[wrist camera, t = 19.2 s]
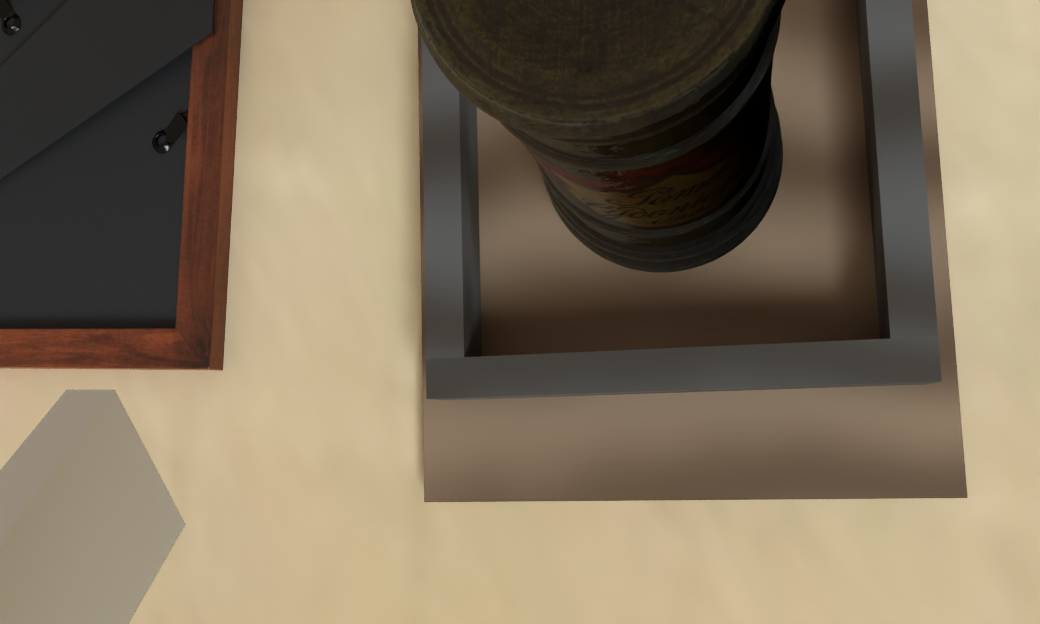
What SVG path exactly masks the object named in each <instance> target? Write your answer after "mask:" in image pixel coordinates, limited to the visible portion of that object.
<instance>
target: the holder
mask: <svg viewBox="0 0 1040 624" xmlns="http://www.w3.org/2000/svg"><path fill="white" fill-rule="evenodd" d="M418 57H419V132H420V207H421V282H422V357H423V433H424V502H496V501H623V500H750V499H876V498H967V487H966V475H965V463H964V451H963V438H962V426H961V414H960V402H959V389H958V377H957V365H956V353H955V340H954V328H953V316H952V304H951V291H950V279H949V267H948V255H947V242H946V230H945V218H944V206H943V193H942V181H941V169H940V157H939V144H938V132H937V120H936V107H935V95H934V83H933V71H932V58H931V46H930V34H929V22H928V9H927V0H786V1H785V3H784V6H783V8H782V10H781V22H780V30H779V35H778V39H777V43H776V47H775V51H774V54H773V67H772V78H771V87H772V91H773V96H774V101H775V106H776V109H777V112H778V116H779V120H780V127H781V136H782V143H783V165H782V173H781V178H780V182H779V186H778V189H777V192H776V195H775V198H774V200H773V202H772V204H771V206H770V208H769V210H768V212H767V213H766V215H765V217H764V218H763V220H762V221H761V222H760V224H759V225H758V226H757V228H756V229H755V230H754V231H753V232H752V233H751V234H750V235H749V236H748V237H747V238H746V239H745V240H744V241H743V242H742V243H741V244H739V245H738V246H737V247H736V248H734V249H733V250H732V251H730V252H729V253H727V254H725V255H724V256H722V257H720V258H718V259H716V260H714V261H712V262H710V263H707V264H705V265H702V266H699V267H695V268H692V269H688V270H683V271H677V272H661V273H659V272H645V271H639V270H634V269H630V268H626V267H623V266H621V265H618V264H615V263H613V262H611V261H608V260H606V259H604V258H602V257H601V256H599V255H597V254H596V253H594V252H593V251H591V250H590V249H589V248H588V247H586V246H585V245H584V244H583V243H582V242H580V241H579V240H578V239H577V238H576V237H575V236H574V235H573V234H572V233H571V232H570V230H569V229H568V228H567V227H566V225H565V224H564V223H563V221H562V220H561V218H560V217H559V215H558V213H557V212H556V210H555V208H554V206H553V204H552V201H551V199H550V196H549V194H548V192H547V190H546V187H545V184H544V181H543V178H542V175H541V172H540V170H539V168H538V165H537V162H536V159H535V158H534V157H533V156H532V155H531V154H530V152H529V151H528V150H527V149H526V148H525V147H524V145H523V144H522V143H521V142H520V140H518V139H517V138H516V137H515V136H514V135H512V134H511V133H510V132H509V131H508V130H507V129H506V128H505V127H504V126H503V125H502V124H501V122H500V121H498V120H497V119H495V118H493V117H491V116H490V115H488V114H487V113H485V112H483V111H482V110H480V109H479V108H478V107H477V106H475V105H474V104H473V103H471V102H470V101H469V100H468V99H467V98H465V97H464V96H463V95H462V94H461V93H460V92H459V91H458V90H457V89H456V88H455V87H454V86H453V85H452V83H451V82H450V81H449V80H448V79H447V78H446V76H445V75H444V74H443V72H442V71H441V70H440V68H439V67H438V65H437V64H436V62H435V60H434V59H433V57H432V55H431V54H430V52H429V50H428V48H427V46H426V44H425V42H424V40H423V38H422V35H421V33H420V30H419V27H418Z"/></svg>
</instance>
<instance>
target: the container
mask: <svg viewBox="0 0 1040 624" xmlns="http://www.w3.org/2000/svg"><path fill="white" fill-rule="evenodd" d="M785 1H786V0H411V4H412V8H413V12H414V16H415V19H416V22H417V24H418V27H419V30H420V33H421V35H422V38H423V40H424V42H425V44H426V46H427V48H428V50H429V52H430V54H431V55H432V57H433V59H434V60H435V62H436V64H437V65H438V67H439V68H440V70H441V71H442V72H443V74H444V75H445V76H446V78H447V79H448V80H449V81H450V82H451V83H452V85H453V86H454V87H455V88H456V89H457V90H458V91H459V92H460V93H461V94H462V95H463V96H464V97H465V98H467V99H468V100H469V101H470V102H471V103H473V104H474V105H475V106H477V107H478V108H479V109H480V110H482V111H483V112H485V113H487V114H488V115H490V116H491V117H493V118H495V119H497V120H498V121H500V122H501V124H502V125H503V126H504V127H505V128H506V129H507V130H508V131H509V132H510V133H511V134H512V135H514V136H515V137H516V138H517V139H518V140H520V142H521V143H522V144H523V145H524V147H525V148H526V149H527V150H528V151H529V152H530V154H531V155H532V156H533V157H534V158H535V159H536V162H537V165H538V168H539V170H540V172H541V175H542V178H543V181H544V184H545V187H546V190H547V192H548V194H549V196H550V199H551V201H552V204H553V206H554V208H555V210H556V212H557V213H558V215H559V217H560V218H561V220H562V221H563V223H564V224H565V225H566V227H567V228H568V229H569V230H570V232H571V233H572V234H573V235H574V236H575V237H576V238H577V239H578V240H579V241H580V242H582V243H583V244H584V245H585V246H586V247H588V248H589V249H590V250H591V251H593V252H594V253H596V254H597V255H599V256H601V257H602V258H604V259H606V260H608V261H611V262H613V263H615V264H618V265H621V266H623V267H626V268H630V269H634V270H639V271H645V272H659V273H661V272H677V271H683V270H688V269H692V268H695V267H699V266H702V265H705V264H707V263H710V262H712V261H714V260H716V259H718V258H720V257H722V256H724V255H725V254H727V253H729V252H730V251H732V250H733V249H734V248H736V247H737V246H738V245H739V244H741V243H742V242H743V241H744V240H745V239H746V238H747V237H748V236H749V235H750V234H751V233H752V232H753V231H754V230H755V229H756V228H757V226H758V225H759V224H760V222H761V221H762V220H763V218H764V217H765V215H766V213H767V212H768V210H769V208H770V206H771V204H772V202H773V200H774V198H775V195H776V192H777V189H778V186H779V182H780V178H781V173H782V165H783V143H782V136H781V127H780V120H779V116H778V112H777V109H776V106H775V101H774V96H773V91H772V87H771V78H772V67H773V54H774V51H775V47H776V43H777V39H778V35H779V30H780V22H781V10H782V8H783V6H784V3H785Z"/></svg>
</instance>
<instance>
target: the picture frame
mask: <svg viewBox="0 0 1040 624" xmlns="http://www.w3.org/2000/svg"><path fill="white" fill-rule="evenodd" d="M242 10H243V0H0V368H29V369H140V370H223V358H224V340H225V322H226V304H227V285H228V267H229V249H230V230H231V212H232V194H233V175H234V157H235V139H236V120H237V102H238V84H239V65H240V47H241V29H242Z"/></svg>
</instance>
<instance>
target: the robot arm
mask: <svg viewBox="0 0 1040 624" xmlns="http://www.w3.org/2000/svg"><path fill="white" fill-rule="evenodd" d="M185 525H186V524H185V522H184V520H183V518H182V517H181V515H180V513H179V511H178V509H177V507H176V505H175V503H174V501H173V499H172V498H171V496H170V494H169V492H168V490H167V488H166V486H165V484H164V482H163V480H162V479H161V477H160V475H159V473H158V471H157V469H156V467H155V465H154V463H153V461H152V460H151V458H150V456H149V454H148V452H147V450H146V448H145V446H144V444H143V442H142V441H141V439H140V437H139V435H138V433H137V431H136V429H135V427H134V425H133V423H132V422H131V420H130V418H129V416H128V414H127V412H126V410H125V408H124V406H123V404H122V403H121V401H120V399H119V397H118V395H117V393H116V391H115V390H66V391H65V392H64V393H63V395H62V396H61V397H60V398H59V400H58V401H57V402H56V403H55V404H54V406H53V407H52V408H51V409H50V411H49V412H48V413H47V414H46V415H45V417H44V418H43V419H42V420H41V422H40V423H39V424H38V425H37V426H36V428H35V429H34V430H33V431H32V433H31V434H30V435H29V436H28V437H27V439H26V440H25V441H24V442H23V444H22V445H21V446H20V447H19V448H18V450H17V451H16V452H15V453H14V455H13V456H12V457H11V458H10V459H9V461H8V462H7V463H6V464H5V465H4V467H3V468H2V469H1V470H0V624H129V622H130V620H131V619H132V617H133V615H134V613H135V612H136V610H137V608H138V606H139V605H140V603H141V601H142V599H143V598H144V596H145V594H146V592H147V591H148V589H149V587H150V586H151V584H152V582H153V580H154V579H155V577H156V575H157V573H158V572H159V570H160V568H161V566H162V565H163V563H164V561H165V559H166V558H167V556H168V554H169V552H170V551H171V549H172V547H173V545H174V544H175V542H176V540H177V538H178V537H179V535H180V533H181V532H182V530H183V528H184V526H185Z"/></svg>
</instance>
